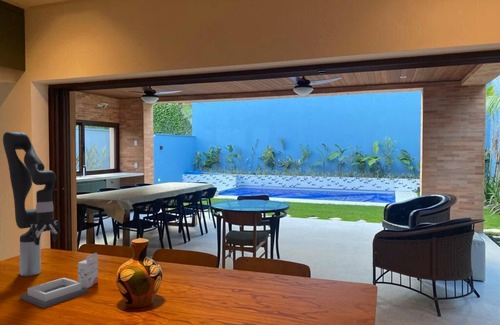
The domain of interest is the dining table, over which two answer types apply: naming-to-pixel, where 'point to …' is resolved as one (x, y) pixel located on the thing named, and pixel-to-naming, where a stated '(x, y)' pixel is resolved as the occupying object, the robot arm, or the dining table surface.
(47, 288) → the cartridge holder
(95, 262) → the ink cartridge box
